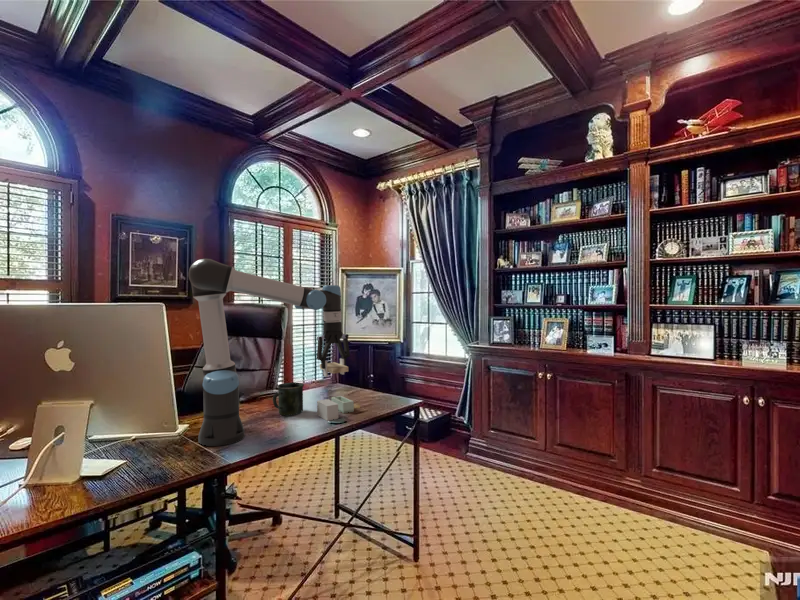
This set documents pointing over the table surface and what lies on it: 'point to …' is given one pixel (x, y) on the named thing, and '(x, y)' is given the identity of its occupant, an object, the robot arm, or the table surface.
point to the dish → (343, 404)
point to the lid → (335, 368)
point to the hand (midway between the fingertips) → (334, 375)
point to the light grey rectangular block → (327, 409)
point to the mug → (289, 398)
